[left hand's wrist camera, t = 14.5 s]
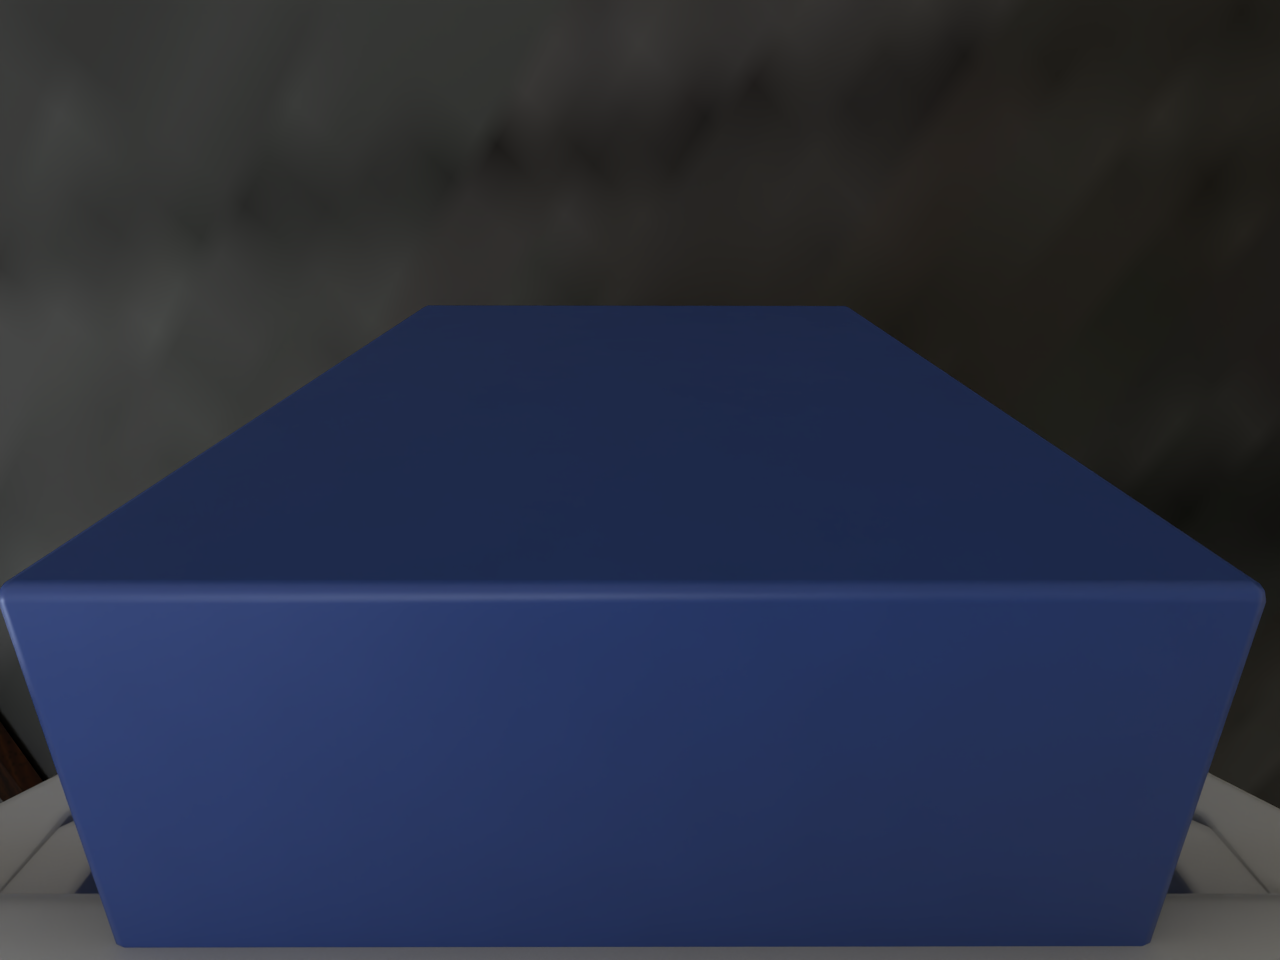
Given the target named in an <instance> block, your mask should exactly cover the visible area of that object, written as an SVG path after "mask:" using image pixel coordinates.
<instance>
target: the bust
mask: <svg viewBox="0 0 1280 960" xmlns="http://www.w3.org/2000/svg"><path fill="white" fill-rule="evenodd" d="M42 782H43V781H42V780H41V778H40V777H39V775H38V774H37V773H36V771H35V770H34V768H33V767H32V766H31V764H30V763H29V761H28V760H27V759H26V757H25V756H24V754H23V753H22V752H21V750H20V749H19V747H18V746H17V745H16V743H15V742H14V740H13V739H12V738H11V736H10V735H9V733H8V732H7V731H6V729H5V728H4V726H3V725H2V724H1V722H0V803H2V802H4V801H6V800H8V799H10V798H12V797H14V796H16V795H18V794H20V793H22V792H24V791H26V790H28V789H30V788H32V787H34V786H36V785H38V784H40V783H42Z"/></svg>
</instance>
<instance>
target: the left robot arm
mask: <svg viewBox="0 0 1280 960" xmlns="http://www.w3.org/2000/svg"><path fill="white" fill-rule="evenodd" d="M0 960H1280V809H1279V808H1277V807H1275V806H1273V805H1271V804H1269V803H1267V802H1265V801H1263V800H1261V799H1259V798H1257V797H1255V796H1253V795H1251V794H1249V793H1247V792H1245V791H1243V790H1241V789H1239V788H1237V787H1236V786H1234V785H1232V784H1230V783H1228V782H1226V781H1224V780H1222V779H1220V778H1218V777H1216V776H1214V775H1212V774H1210V773H1208V774H1207V777H1206V780H1205V783H1204V786H1203V789H1202V792H1201V794H1200V797H1199V800H1198V803H1197V806H1196V809H1195V812H1194V815H1193V818H1192V821H1191V824H1190V827H1189V830H1188V833H1187V836H1186V839H1185V842H1184V844H1183V847H1182V850H1181V853H1180V856H1179V859H1178V862H1177V865H1176V868H1175V871H1174V874H1173V877H1172V880H1171V883H1170V886H1169V889H1168V892H1167V894H1166V897H1165V900H1164V903H1163V906H1162V909H1161V912H1160V915H1159V918H1158V921H1157V924H1156V927H1155V930H1154V933H1153V936H1152V939H1151V942H1150V943H1148V944H1146V945H1144V946H926V947H209V948H124V947H122V946H119V945H117V944H116V942H115V939H114V936H113V933H112V930H111V927H110V924H109V921H108V919H107V916H106V913H105V910H104V907H103V904H102V901H101V898H100V895H99V892H98V890H97V887H96V884H95V881H94V878H93V875H92V872H91V869H90V866H89V863H88V861H87V858H86V855H85V852H84V849H83V846H82V843H81V840H80V837H79V834H78V831H77V829H76V826H75V823H74V820H73V817H72V814H71V811H70V808H69V805H68V802H67V800H66V797H65V794H64V791H63V788H62V785H61V782H60V779H59V776H58V775H56V776H54V777H52V778H50V779H48V780H46V781H44V782H42V783H40V784H38V785H36V786H34V787H32V788H30V789H28V790H26V791H24V792H22V793H20V794H18V795H16V796H14V797H12V798H10V799H8V800H6V801H4V802H2V803H0Z"/></svg>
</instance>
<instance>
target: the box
mask: <svg viewBox="0 0 1280 960" xmlns="http://www.w3.org/2000/svg"><path fill="white" fill-rule="evenodd" d="M1265 603H1266V597H1265V591H1264V589H1263V588H1262V586H1261V584H1259V583H1258V582H1257V581H1255V580H1254V579H1252V578H1251V577H1249V576H1248V575H1246V574H1245V573H1243V572H1242V571H1240V570H1239V569H1237V568H1236V567H1234V566H1233V565H1231V564H1230V563H1228V562H1227V561H1225V560H1224V559H1222V558H1221V557H1219V556H1218V555H1216V554H1215V553H1213V552H1212V551H1210V550H1209V549H1207V548H1206V547H1204V546H1203V545H1201V544H1200V543H1198V542H1197V541H1195V540H1194V539H1193V538H1191V537H1190V536H1188V535H1187V534H1185V533H1184V532H1182V531H1181V530H1179V529H1178V528H1176V527H1175V526H1173V525H1172V524H1170V523H1169V522H1167V521H1166V520H1164V519H1163V518H1161V517H1160V516H1158V515H1157V514H1155V513H1154V512H1152V511H1151V510H1149V509H1148V508H1146V507H1145V506H1143V505H1142V504H1140V503H1139V502H1137V501H1136V500H1134V499H1133V498H1131V497H1130V496H1128V495H1127V494H1126V493H1124V492H1123V491H1121V490H1120V489H1118V488H1117V487H1115V486H1114V485H1112V484H1111V483H1109V482H1108V481H1106V480H1105V479H1103V478H1102V477H1100V476H1099V475H1097V474H1096V473H1094V472H1093V471H1091V470H1090V469H1088V468H1087V467H1085V466H1084V465H1082V464H1081V463H1079V462H1078V461H1076V460H1075V459H1073V458H1072V457H1070V456H1069V455H1067V454H1066V453H1064V452H1063V451H1062V450H1060V449H1059V448H1057V447H1056V446H1054V445H1053V444H1051V443H1050V442H1048V441H1047V440H1045V439H1044V438H1042V437H1041V436H1039V435H1038V434H1036V433H1035V432H1033V431H1032V430H1030V429H1029V428H1027V427H1026V426H1024V425H1023V424H1021V423H1020V422H1018V421H1017V420H1015V419H1014V418H1012V417H1011V416H1009V415H1008V414H1006V413H1005V412H1003V411H1002V410H1000V409H999V408H997V407H996V406H995V405H993V404H992V403H990V402H989V401H987V400H986V399H984V398H983V397H981V396H980V395H978V394H977V393H975V392H974V391H972V390H971V389H969V388H968V387H966V386H965V385H963V384H962V383H960V382H959V381H957V380H956V379H954V378H953V377H951V376H950V375H948V374H947V373H945V372H944V371H942V370H941V369H939V368H938V367H936V366H935V365H933V364H932V363H930V362H929V361H928V360H926V359H925V358H923V357H922V356H920V355H919V354H917V353H916V352H914V351H913V350H911V349H910V348H908V347H907V346H905V345H904V344H902V343H901V342H899V341H898V340H896V339H895V338H893V337H892V336H890V335H889V334H887V333H886V332H884V331H883V330H881V329H880V328H878V327H877V326H875V325H874V324H872V323H871V322H869V321H868V320H866V319H865V318H864V317H862V316H861V315H859V314H858V313H856V312H855V311H853V310H852V309H850V308H848V307H846V306H426V307H424V308H422V309H421V310H419V311H418V312H416V313H415V314H413V315H412V316H410V317H408V318H407V319H405V320H404V321H402V322H401V323H399V324H398V325H396V326H395V327H393V328H392V329H390V330H389V331H387V332H386V333H384V334H383V335H381V336H380V337H378V338H377V339H375V340H373V341H372V342H370V343H369V344H367V345H366V346H364V347H363V348H361V349H360V350H358V351H357V352H355V353H354V354H352V355H351V356H349V357H348V358H346V359H345V360H343V361H341V362H340V363H338V364H337V365H335V366H334V367H332V368H331V369H329V370H328V371H326V372H325V373H323V374H322V375H320V376H319V377H317V378H316V379H314V380H313V381H311V382H310V383H308V384H306V385H305V386H303V387H302V388H300V389H299V390H297V391H296V392H294V393H293V394H291V395H290V396H288V397H287V398H285V399H284V400H282V401H281V402H279V403H278V404H276V405H275V406H273V407H271V408H270V409H268V410H267V411H265V412H264V413H262V414H261V415H259V416H258V417H256V418H255V419H253V420H252V421H250V422H249V423H247V424H246V425H244V426H243V427H241V428H239V429H238V430H236V431H235V432H233V433H232V434H230V435H229V436H227V437H226V438H224V439H223V440H221V441H220V442H218V443H217V444H215V445H214V446H212V447H211V448H209V449H208V450H206V451H204V452H203V453H201V454H200V455H198V456H197V457H195V458H194V459H192V460H191V461H189V462H188V463H186V464H185V465H183V466H182V467H180V468H179V469H177V470H176V471H174V472H173V473H171V474H169V475H168V476H166V477H165V478H163V479H162V480H160V481H159V482H157V483H156V484H154V485H153V486H151V487H150V488H148V489H147V490H145V491H144V492H142V493H141V494H139V495H138V496H136V497H134V498H133V499H131V500H130V501H128V502H127V503H125V504H124V505H122V506H121V507H119V508H118V509H116V510H115V511H113V512H112V513H110V514H109V515H107V516H106V517H104V518H102V519H101V520H99V521H98V522H96V523H95V524H93V525H92V526H90V527H89V528H87V529H86V530H84V531H83V532H81V533H80V534H78V535H77V536H75V537H74V538H72V539H71V540H69V541H67V542H66V543H64V544H63V545H61V546H60V547H58V548H57V549H55V550H54V551H52V552H51V553H49V554H48V555H46V556H45V557H43V558H42V559H40V560H39V561H37V562H36V563H34V564H32V565H31V566H29V567H28V568H26V569H25V570H23V571H22V572H20V573H19V574H17V575H16V576H14V577H13V578H11V579H10V580H8V581H7V582H5V583H4V584H3V586H2V587H1V589H0V608H1V611H2V614H3V617H4V620H5V622H6V625H7V628H8V631H9V634H10V637H11V640H12V643H13V646H14V649H15V651H16V654H17V657H18V660H19V663H20V666H21V669H22V672H23V675H24V678H25V681H26V683H27V686H28V689H29V692H30V695H31V698H32V701H33V704H34V707H35V710H36V712H37V715H38V718H39V721H40V724H41V727H42V730H43V733H44V736H45V739H46V741H47V744H48V747H49V750H50V753H51V756H52V759H53V762H54V765H55V768H56V771H57V773H58V776H59V779H60V782H61V785H62V788H63V791H64V794H65V797H66V800H67V802H68V805H69V808H70V811H71V814H72V817H73V820H74V823H75V826H76V829H77V831H78V834H79V837H80V840H81V843H82V846H83V849H84V852H85V855H86V858H87V861H88V863H89V866H90V869H91V872H92V875H93V878H94V881H95V884H96V887H97V890H98V892H99V895H100V898H101V901H102V904H103V907H104V910H105V913H106V916H107V919H108V921H109V924H110V927H111V930H112V933H113V936H114V939H115V942H116V944H117V945H119V946H122V947H124V948H209V947H926V946H1144V945H1146V944H1148V943H1150V942H1151V939H1152V936H1153V933H1154V930H1155V927H1156V924H1157V921H1158V918H1159V915H1160V912H1161V909H1162V906H1163V903H1164V900H1165V897H1166V894H1167V892H1168V889H1169V886H1170V883H1171V880H1172V877H1173V874H1174V871H1175V868H1176V865H1177V862H1178V859H1179V856H1180V853H1181V850H1182V847H1183V844H1184V842H1185V839H1186V836H1187V833H1188V830H1189V827H1190V824H1191V821H1192V818H1193V815H1194V812H1195V809H1196V806H1197V803H1198V800H1199V797H1200V794H1201V792H1202V789H1203V786H1204V783H1205V780H1206V777H1207V774H1208V771H1209V768H1210V765H1211V762H1212V759H1213V756H1214V753H1215V750H1216V747H1217V744H1218V742H1219V739H1220V736H1221V733H1222V730H1223V727H1224V724H1225V721H1226V718H1227V715H1228V712H1229V709H1230V706H1231V703H1232V700H1233V697H1234V694H1235V692H1236V689H1237V686H1238V683H1239V680H1240V677H1241V674H1242V671H1243V668H1244V665H1245V662H1246V659H1247V656H1248V653H1249V650H1250V647H1251V644H1252V641H1253V639H1254V636H1255V633H1256V630H1257V627H1258V624H1259V621H1260V618H1261V615H1262V612H1263V609H1264V606H1265Z"/></svg>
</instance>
